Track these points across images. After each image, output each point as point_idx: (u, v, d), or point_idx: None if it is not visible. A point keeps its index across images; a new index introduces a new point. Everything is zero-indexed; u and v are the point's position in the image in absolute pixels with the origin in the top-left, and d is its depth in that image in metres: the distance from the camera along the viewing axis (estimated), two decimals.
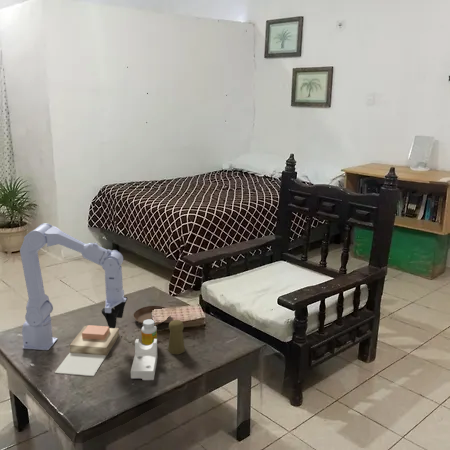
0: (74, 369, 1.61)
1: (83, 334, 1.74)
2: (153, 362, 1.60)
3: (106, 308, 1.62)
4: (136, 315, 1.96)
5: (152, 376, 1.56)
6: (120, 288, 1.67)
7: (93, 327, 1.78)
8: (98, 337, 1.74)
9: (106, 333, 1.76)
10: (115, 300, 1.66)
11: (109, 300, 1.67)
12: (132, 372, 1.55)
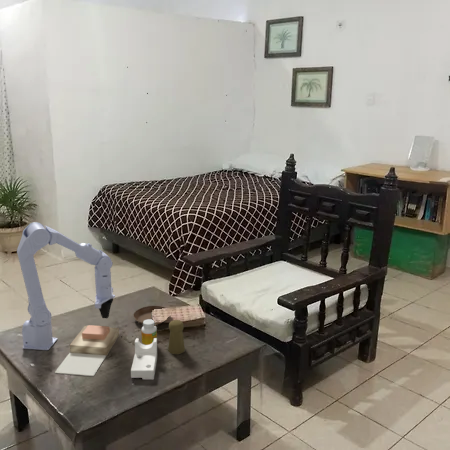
0: (74, 369, 1.61)
1: (83, 334, 1.74)
2: (153, 361, 1.60)
3: (96, 304, 1.76)
4: (136, 315, 1.96)
5: (152, 375, 1.56)
6: (109, 285, 1.81)
7: (93, 327, 1.78)
8: (98, 337, 1.74)
9: (106, 333, 1.76)
10: (104, 297, 1.81)
11: (99, 297, 1.81)
12: (132, 371, 1.56)
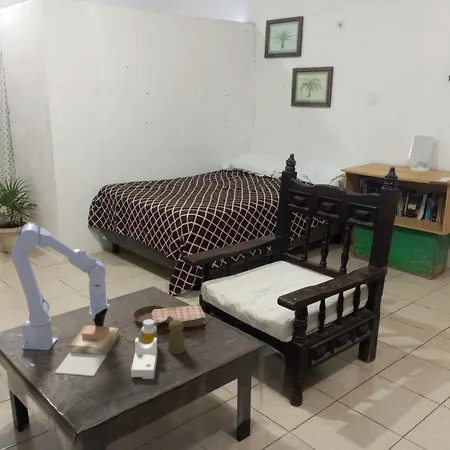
0: (74, 369, 1.61)
1: (83, 334, 1.74)
2: (153, 361, 1.61)
3: (90, 314, 1.71)
4: (136, 315, 1.96)
5: (152, 375, 1.57)
6: (103, 295, 1.75)
7: (93, 327, 1.78)
8: (98, 337, 1.73)
9: (106, 333, 1.76)
10: (99, 306, 1.75)
11: (93, 306, 1.75)
12: (132, 371, 1.56)
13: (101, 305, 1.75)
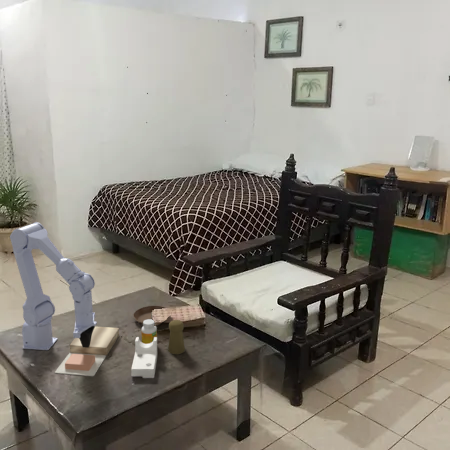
0: None
1: None
2: (153, 360, 1.61)
3: (75, 333, 1.58)
4: (136, 315, 1.96)
5: (152, 374, 1.57)
6: (90, 312, 1.62)
7: None
8: None
9: (92, 362, 1.63)
10: (84, 324, 1.62)
11: (78, 324, 1.62)
12: (133, 370, 1.56)
13: (87, 323, 1.63)
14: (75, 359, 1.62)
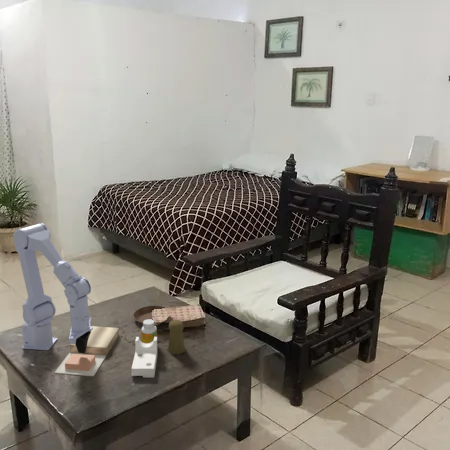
0: None
1: None
2: (153, 360, 1.61)
3: (70, 339, 1.55)
4: (136, 315, 1.96)
5: (153, 373, 1.57)
6: (86, 317, 1.59)
7: None
8: None
9: (92, 362, 1.63)
10: (80, 329, 1.59)
11: (74, 329, 1.59)
12: (133, 369, 1.57)
13: (83, 328, 1.59)
14: (75, 359, 1.62)
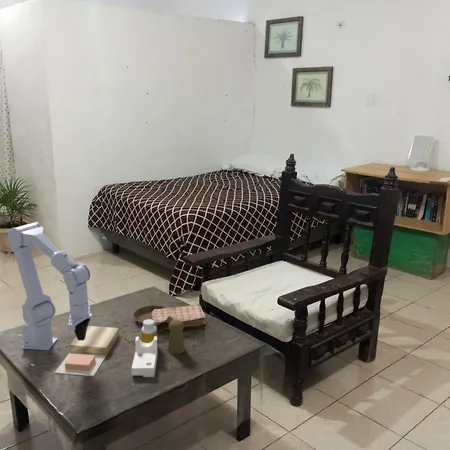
0: None
1: None
2: (153, 359, 1.62)
3: (69, 325, 1.54)
4: (136, 315, 1.96)
5: (153, 373, 1.58)
6: (85, 304, 1.58)
7: None
8: None
9: (92, 362, 1.63)
10: (80, 316, 1.58)
11: (73, 316, 1.58)
12: (133, 369, 1.57)
13: (82, 315, 1.58)
14: (75, 359, 1.62)
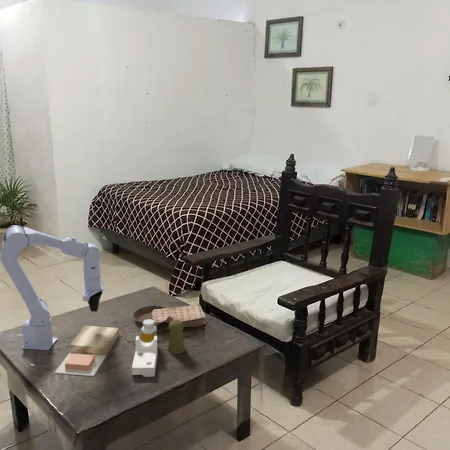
0: None
1: None
2: (154, 359, 1.62)
3: (84, 296, 1.72)
4: (136, 315, 1.96)
5: (153, 372, 1.58)
6: (98, 278, 1.76)
7: None
8: None
9: (92, 362, 1.63)
10: (93, 289, 1.76)
11: (87, 289, 1.76)
12: (133, 369, 1.57)
13: (95, 288, 1.76)
14: (75, 359, 1.62)
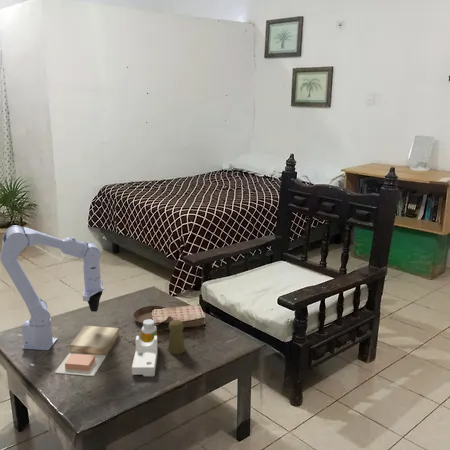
0: None
1: None
2: (154, 358, 1.62)
3: (84, 296, 1.72)
4: (136, 315, 1.96)
5: (153, 372, 1.58)
6: (98, 278, 1.76)
7: None
8: None
9: (92, 362, 1.63)
10: (93, 289, 1.76)
11: (87, 289, 1.76)
12: (133, 368, 1.57)
13: (95, 288, 1.76)
14: (75, 359, 1.62)
